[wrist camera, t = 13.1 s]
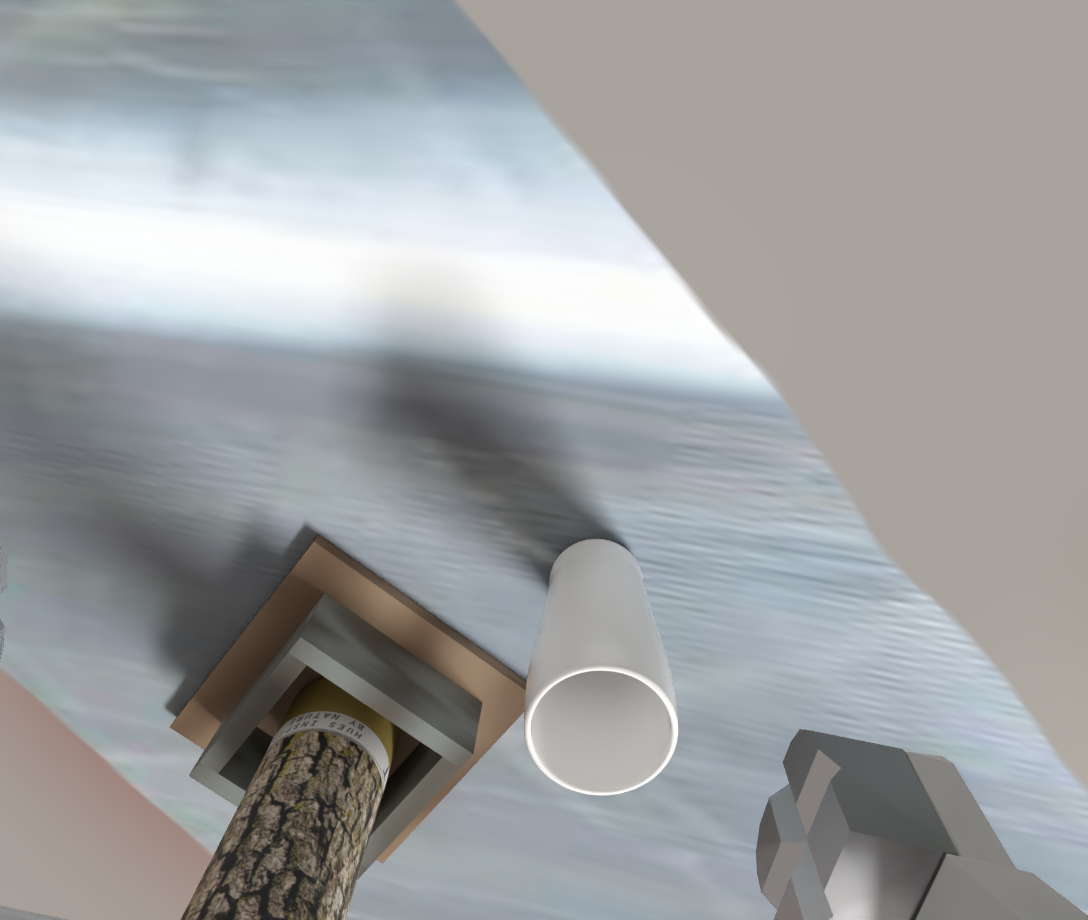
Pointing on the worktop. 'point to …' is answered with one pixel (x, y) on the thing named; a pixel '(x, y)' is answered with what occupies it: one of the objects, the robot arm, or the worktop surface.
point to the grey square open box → (354, 688)
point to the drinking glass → (599, 676)
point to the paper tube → (303, 815)
